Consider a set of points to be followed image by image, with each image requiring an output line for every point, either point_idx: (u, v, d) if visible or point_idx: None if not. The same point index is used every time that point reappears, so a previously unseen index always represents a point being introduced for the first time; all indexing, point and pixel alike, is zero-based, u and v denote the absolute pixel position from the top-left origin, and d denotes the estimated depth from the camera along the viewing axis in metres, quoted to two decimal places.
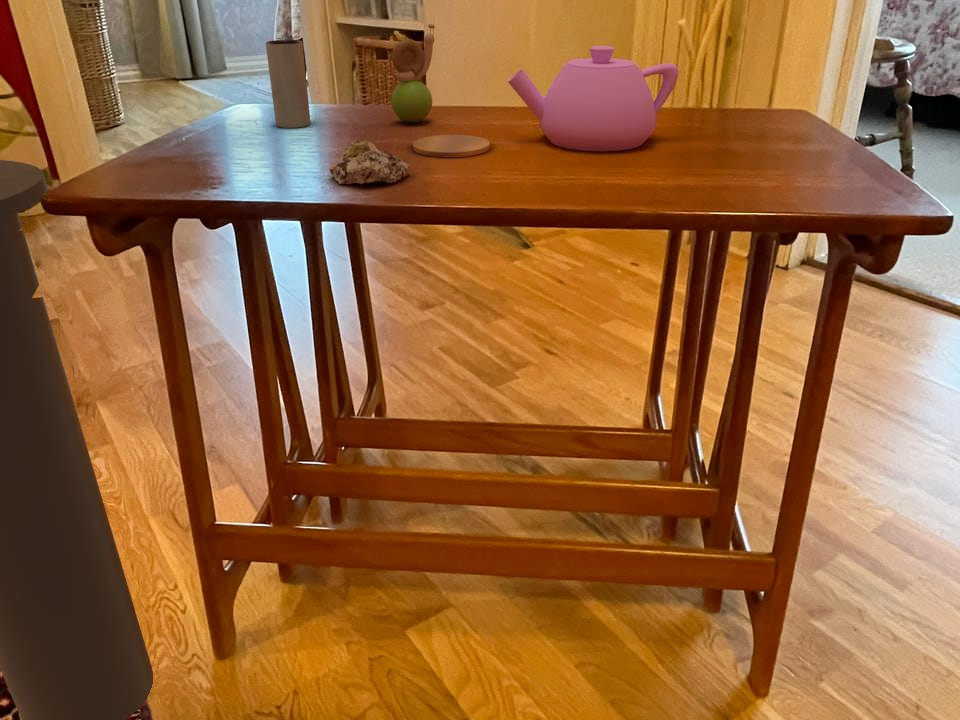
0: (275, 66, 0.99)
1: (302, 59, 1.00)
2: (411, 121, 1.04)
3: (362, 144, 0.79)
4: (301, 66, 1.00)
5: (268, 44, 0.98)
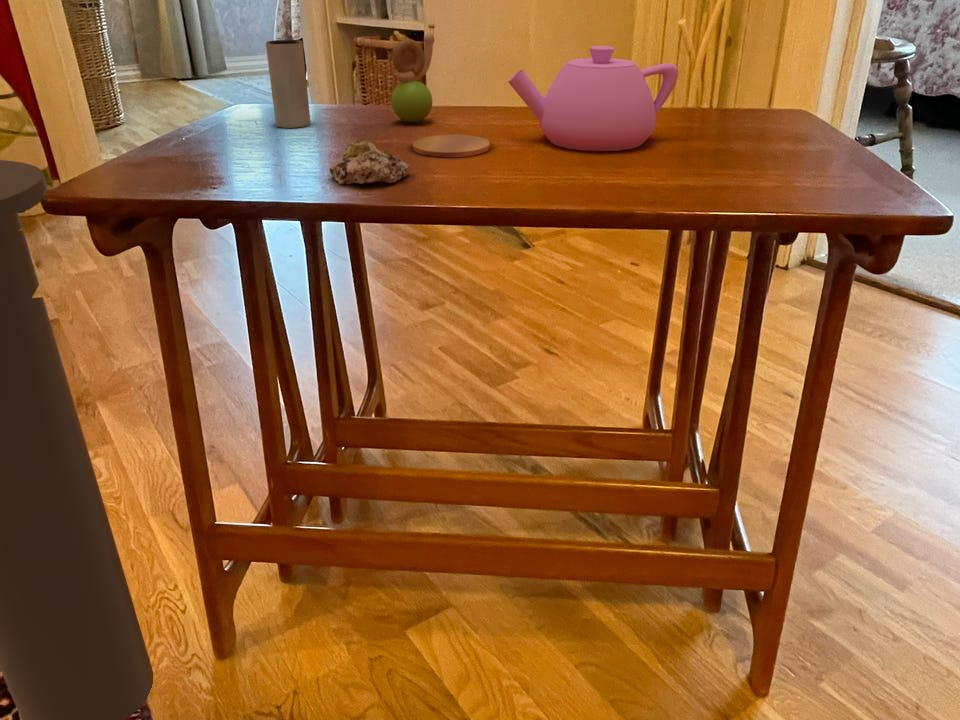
0: (275, 66, 0.99)
1: (302, 59, 1.00)
2: (411, 121, 1.04)
3: (362, 144, 0.79)
4: (301, 66, 1.00)
5: (268, 44, 0.98)
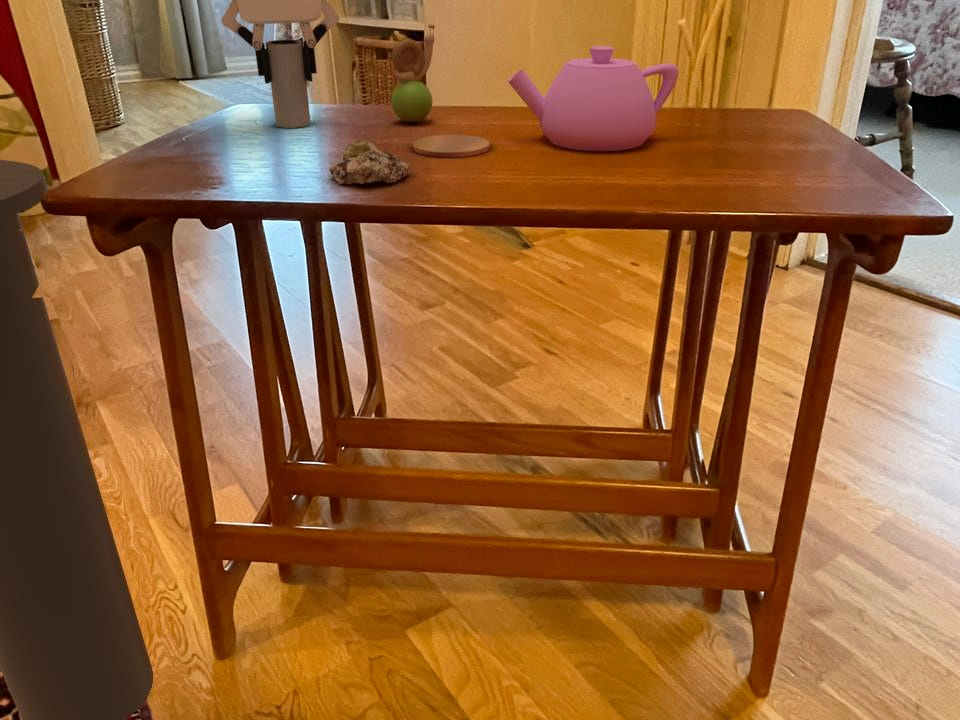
0: (275, 66, 0.99)
1: (302, 59, 1.00)
2: (411, 121, 1.04)
3: (362, 144, 0.79)
4: (301, 66, 1.00)
5: (268, 44, 0.98)
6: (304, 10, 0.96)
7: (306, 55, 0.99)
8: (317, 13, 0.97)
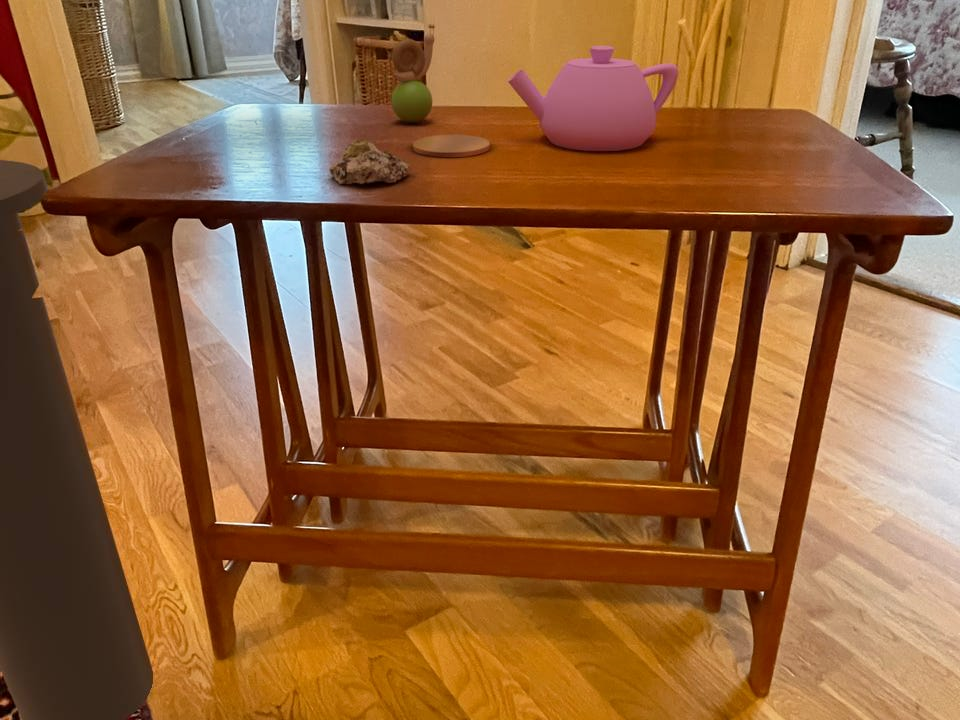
0: None
1: None
2: (411, 121, 1.04)
3: (362, 144, 0.79)
4: None
5: None
6: None
7: None
8: None
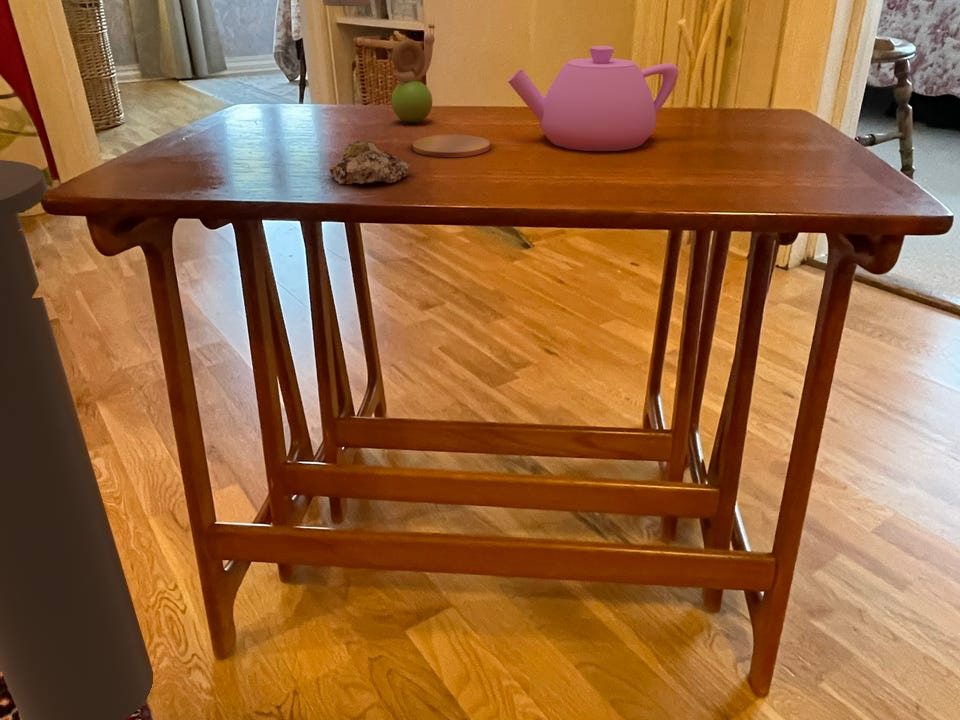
0: None
1: None
2: (411, 121, 1.04)
3: (362, 144, 0.79)
4: None
5: None
6: None
7: None
8: None
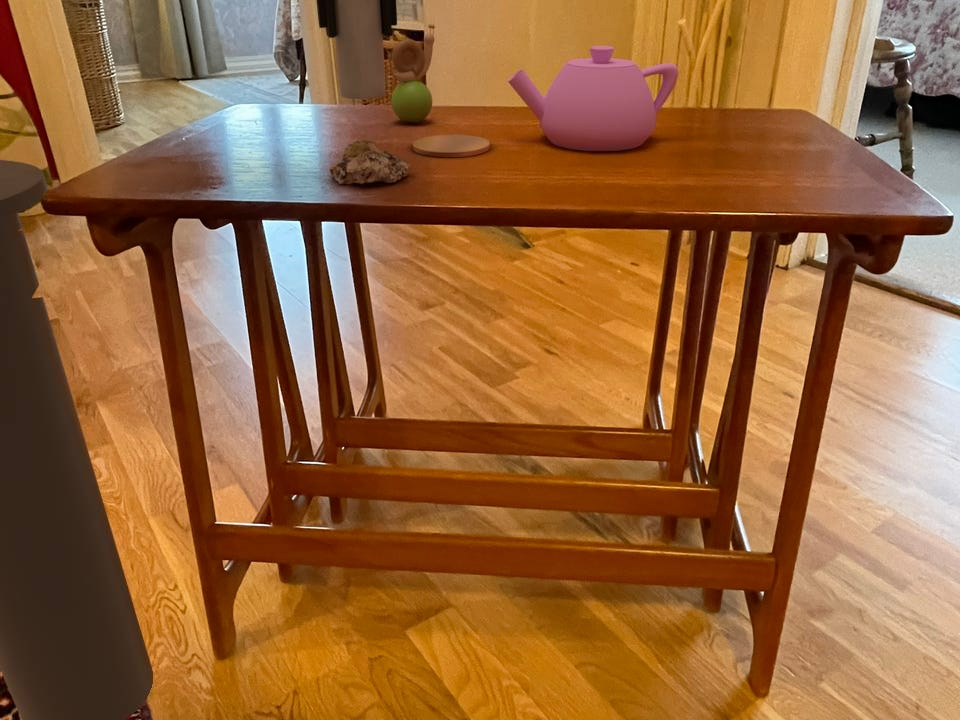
0: (344, 13, 0.73)
1: (379, 5, 0.74)
2: (411, 121, 1.04)
3: (362, 144, 0.79)
4: (378, 14, 0.74)
5: None
6: None
7: None
8: None
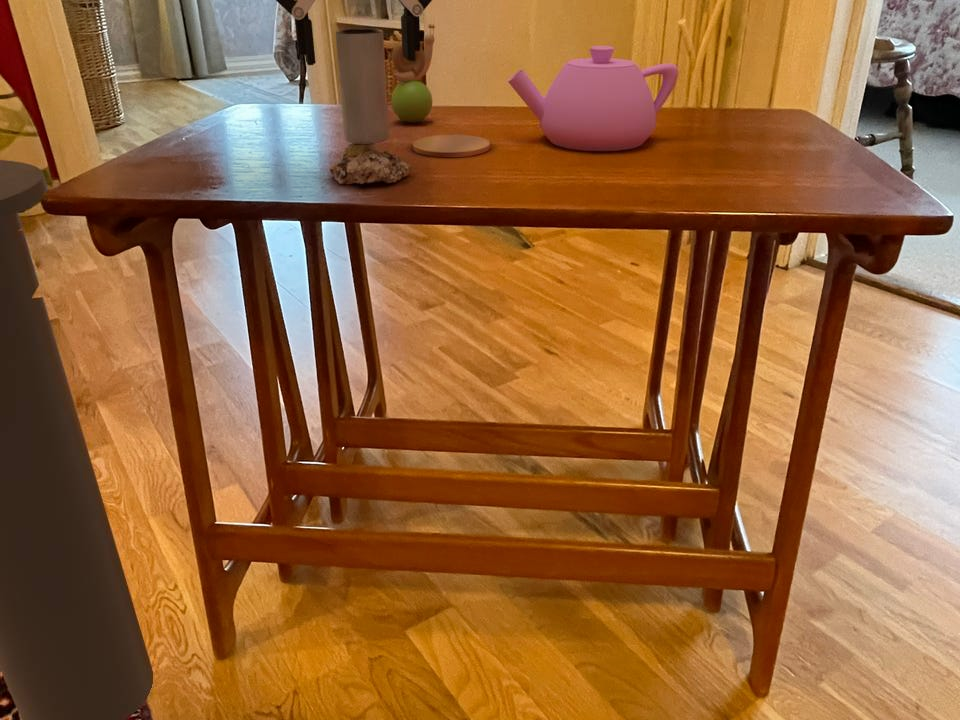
0: (348, 63, 0.75)
1: (383, 54, 0.76)
2: (411, 121, 1.04)
3: (362, 144, 0.79)
4: (381, 63, 0.76)
5: (340, 34, 0.74)
6: None
7: (409, 26, 0.75)
8: None
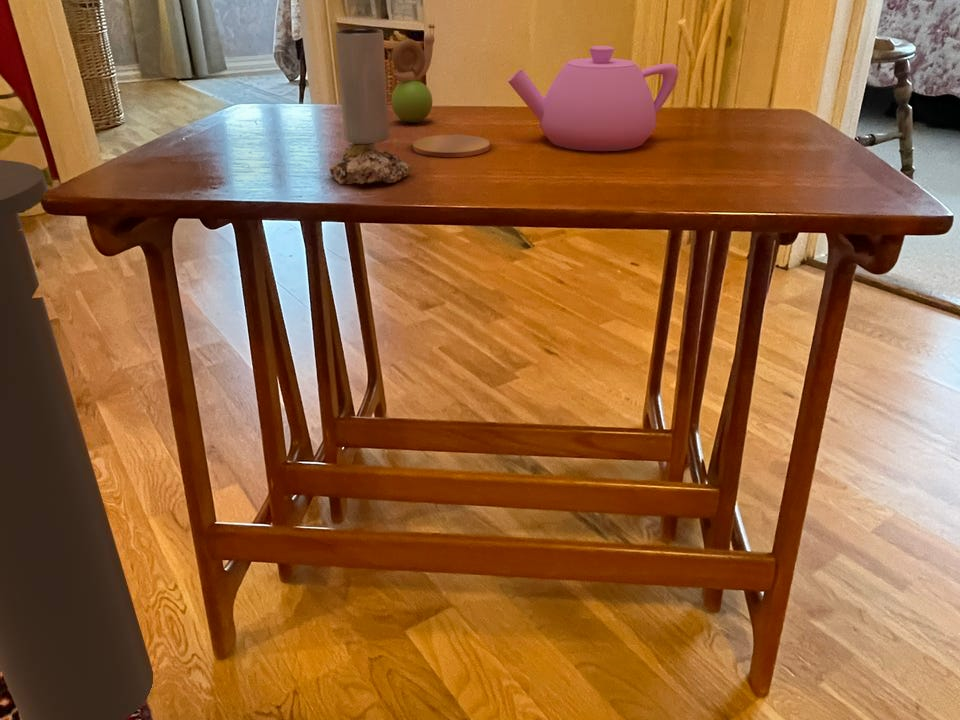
0: (348, 63, 0.75)
1: (383, 54, 0.76)
2: (411, 121, 1.04)
3: (362, 144, 0.79)
4: (381, 63, 0.76)
5: (340, 34, 0.74)
6: None
7: None
8: None
